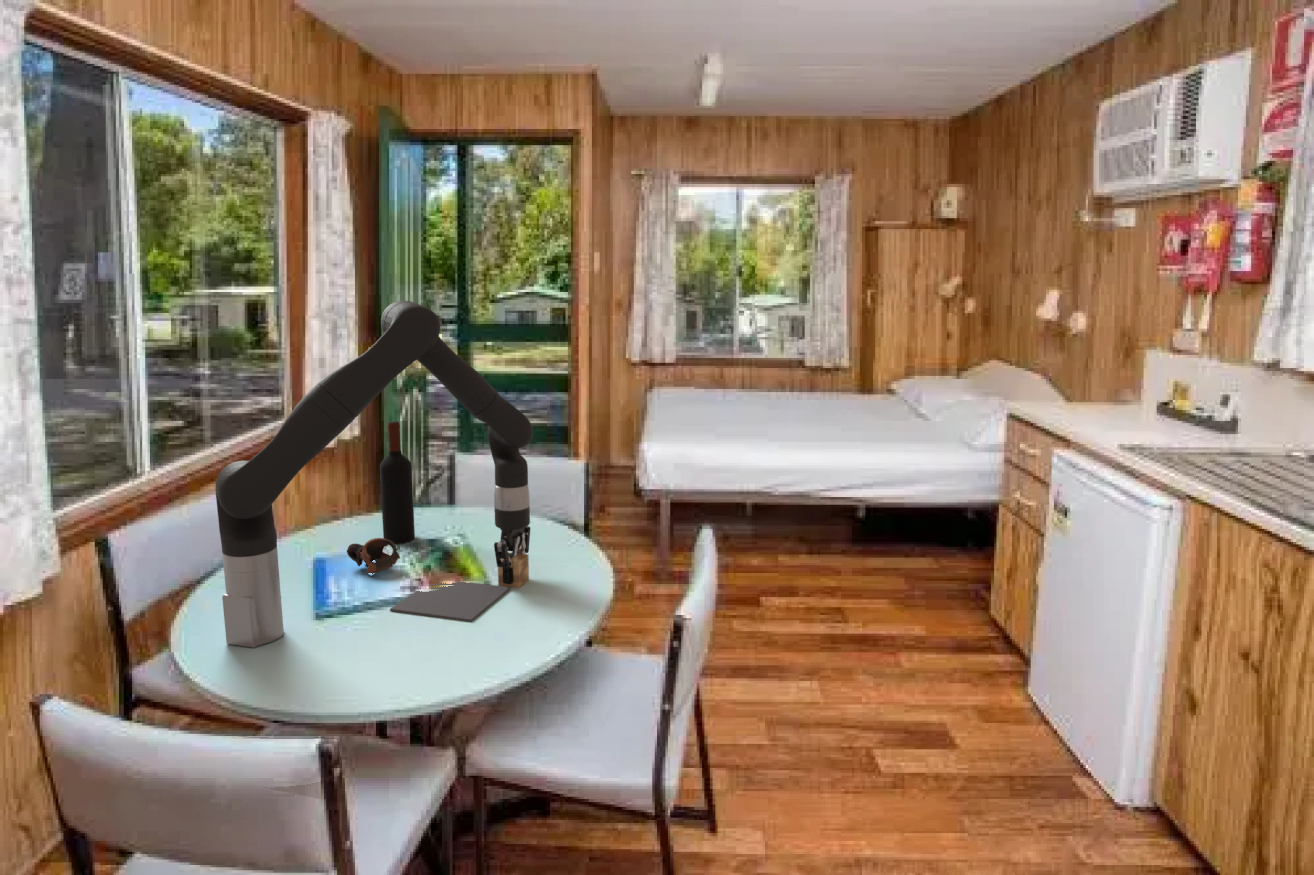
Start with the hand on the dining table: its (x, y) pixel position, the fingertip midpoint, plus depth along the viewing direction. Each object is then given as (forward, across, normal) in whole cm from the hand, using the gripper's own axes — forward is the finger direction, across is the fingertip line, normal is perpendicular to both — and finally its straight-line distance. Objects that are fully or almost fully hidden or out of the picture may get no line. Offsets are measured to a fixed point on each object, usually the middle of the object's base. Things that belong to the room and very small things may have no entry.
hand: (513, 578), depth 197 cm
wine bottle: (+1, +19, +40) cm, 44 cm away
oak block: (+1, 0, 0) cm, 1 cm away
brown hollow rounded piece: (+1, -2, +34) cm, 34 cm away
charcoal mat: (+1, -13, +8) cm, 15 cm away
